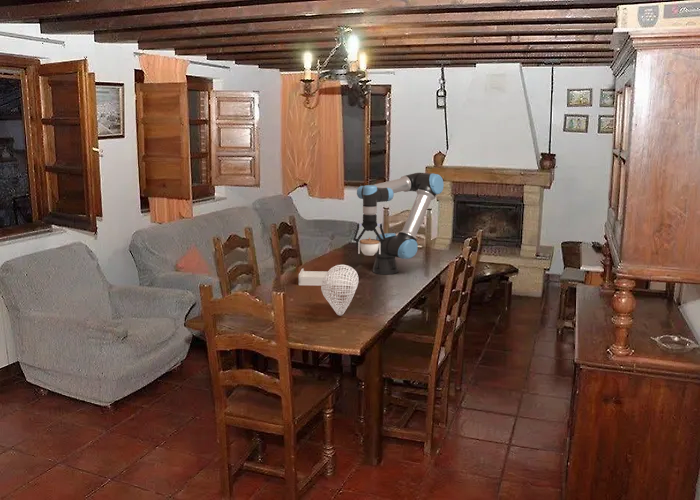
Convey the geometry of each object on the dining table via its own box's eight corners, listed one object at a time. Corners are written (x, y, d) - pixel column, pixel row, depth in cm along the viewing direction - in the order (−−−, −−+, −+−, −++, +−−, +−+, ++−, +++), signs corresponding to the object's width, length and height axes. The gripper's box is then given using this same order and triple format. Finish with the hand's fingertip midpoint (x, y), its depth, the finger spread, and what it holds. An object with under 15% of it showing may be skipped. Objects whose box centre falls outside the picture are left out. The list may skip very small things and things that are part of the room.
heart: (328, 306, 316) (327, 261, 312) (359, 307, 315) (359, 262, 310) (319, 323, 289) (318, 275, 285) (353, 324, 287) (353, 276, 283)
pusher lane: (356, 279, 370) (356, 269, 369) (355, 286, 355) (355, 275, 354) (302, 278, 371) (302, 268, 370) (298, 285, 357) (298, 274, 355)
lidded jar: (377, 256, 352) (377, 239, 351) (357, 255, 355) (358, 239, 353) (380, 253, 363) (380, 236, 361) (361, 252, 365) (361, 235, 363)
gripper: (391, 213, 358) (390, 252, 362) (348, 212, 359) (348, 251, 363) (391, 215, 350) (390, 255, 354) (348, 214, 351) (347, 254, 356)
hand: (369, 253), depth 359 cm, fingers closed on lidded jar, 11 cm apart
